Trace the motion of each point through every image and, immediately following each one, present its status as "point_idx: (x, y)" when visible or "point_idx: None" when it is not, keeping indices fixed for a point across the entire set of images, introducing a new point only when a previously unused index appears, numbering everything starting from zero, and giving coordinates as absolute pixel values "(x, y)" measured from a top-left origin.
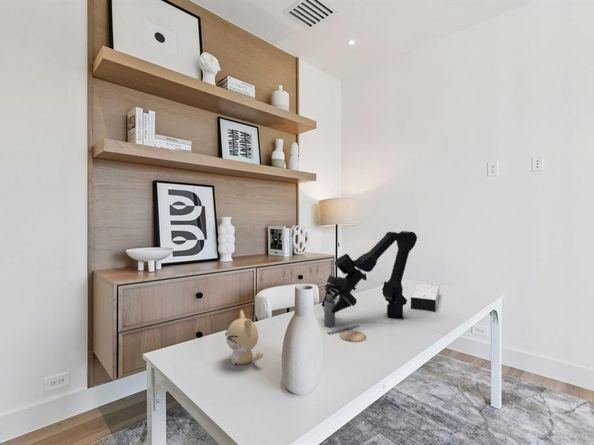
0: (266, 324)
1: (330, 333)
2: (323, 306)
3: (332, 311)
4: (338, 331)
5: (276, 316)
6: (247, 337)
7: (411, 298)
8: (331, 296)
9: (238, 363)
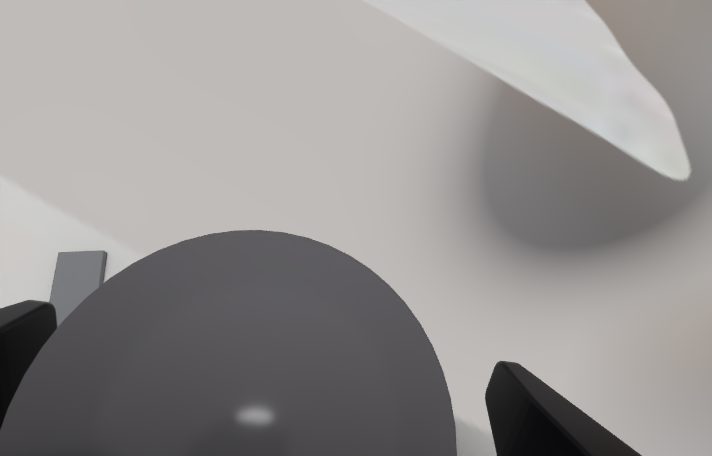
0: (523, 2)
1: (59, 264)
2: (488, 399)
3: (16, 311)
4: None
5: (671, 116)
6: None
7: None
8: (46, 428)
9: None
